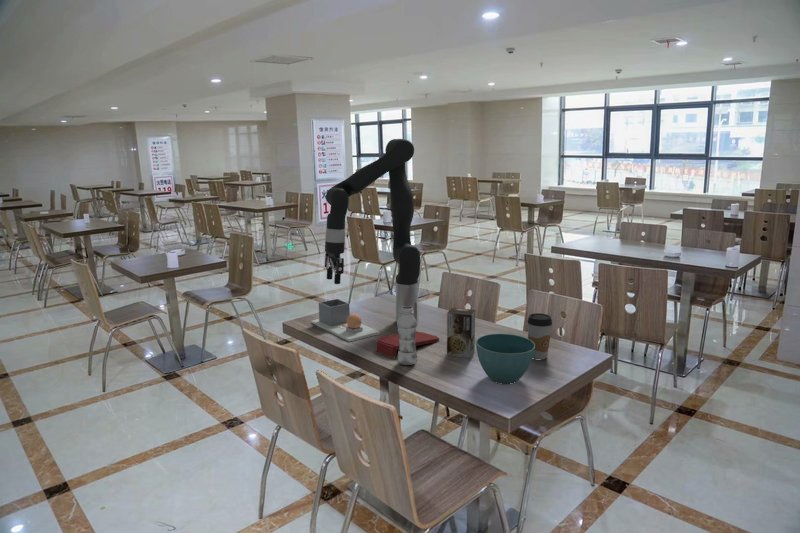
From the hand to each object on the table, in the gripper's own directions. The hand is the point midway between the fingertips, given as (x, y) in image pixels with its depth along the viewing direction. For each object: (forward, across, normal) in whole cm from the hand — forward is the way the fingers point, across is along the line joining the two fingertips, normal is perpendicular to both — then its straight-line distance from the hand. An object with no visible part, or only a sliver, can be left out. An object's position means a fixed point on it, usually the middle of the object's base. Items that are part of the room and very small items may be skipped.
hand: (333, 281), depth 215 cm
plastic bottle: (+20, -41, -12) cm, 47 cm away
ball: (+16, -4, -8) cm, 18 cm away
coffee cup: (+17, -57, -56) cm, 82 cm away
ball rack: (+21, +4, -7) cm, 22 cm away
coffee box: (+19, -42, -34) cm, 57 cm away
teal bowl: (+19, -66, -34) cm, 77 cm away
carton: (+20, -25, -21) cm, 39 cm away
